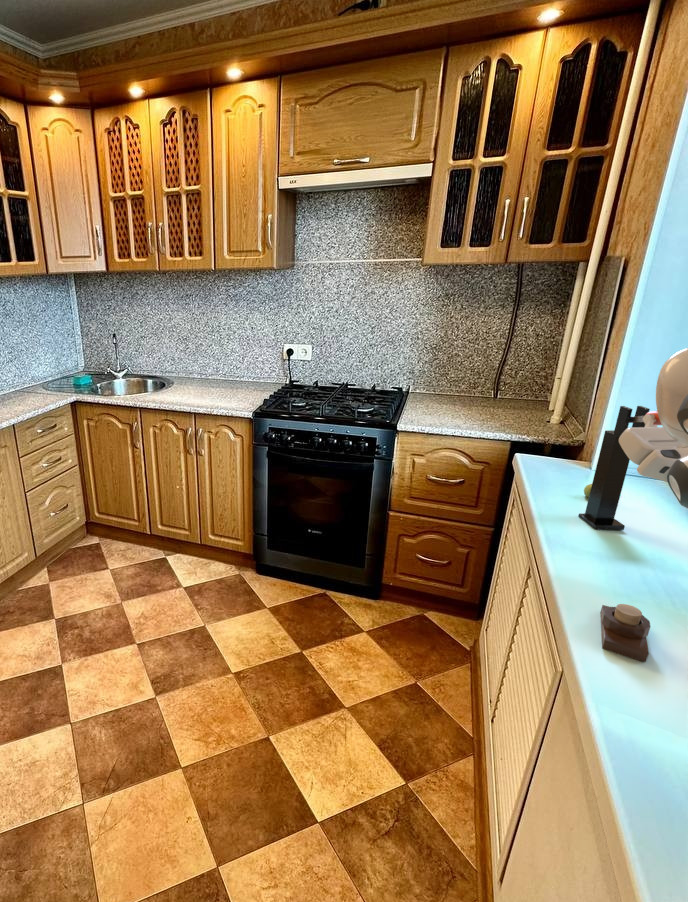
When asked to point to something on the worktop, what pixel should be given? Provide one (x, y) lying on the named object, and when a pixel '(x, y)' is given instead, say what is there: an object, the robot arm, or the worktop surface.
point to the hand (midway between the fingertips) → (658, 416)
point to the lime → (587, 490)
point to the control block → (624, 635)
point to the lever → (640, 418)
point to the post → (610, 475)
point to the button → (627, 614)
